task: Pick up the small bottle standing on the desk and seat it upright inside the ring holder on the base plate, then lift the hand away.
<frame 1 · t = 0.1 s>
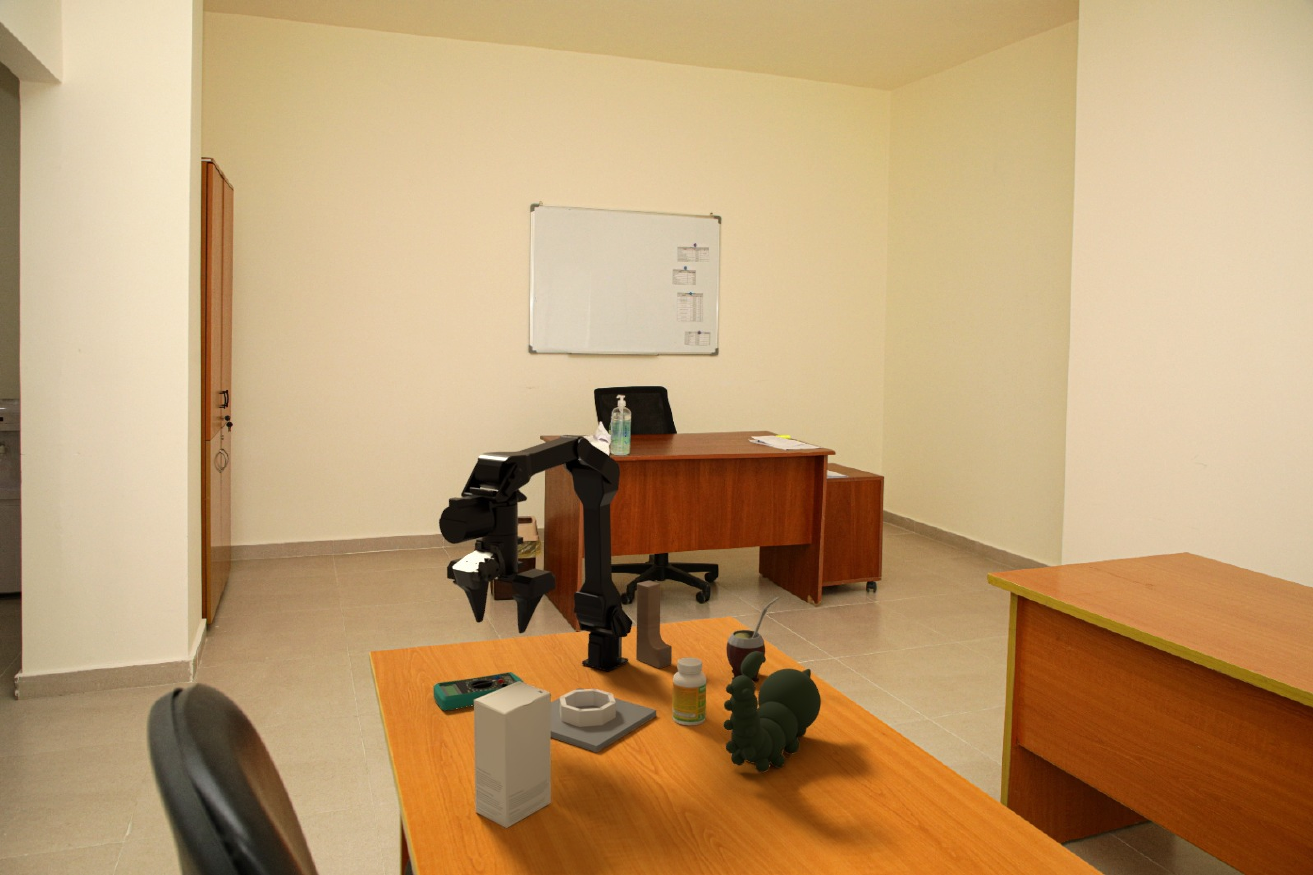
hand: (500, 627, 146), 15 cm above the table, tool pointing down, fingers open, 9 cm apart
wooden block: (653, 663, 172), on the table
skincare box: (513, 810, 119), on the table
digital multimeter: (479, 700, 155), on the table
ring holder: (587, 720, 146), on the table
supplement bottle: (688, 720, 147), on the table
mate gourd: (747, 677, 166), on the table
toy figurine: (773, 754, 136), on the table
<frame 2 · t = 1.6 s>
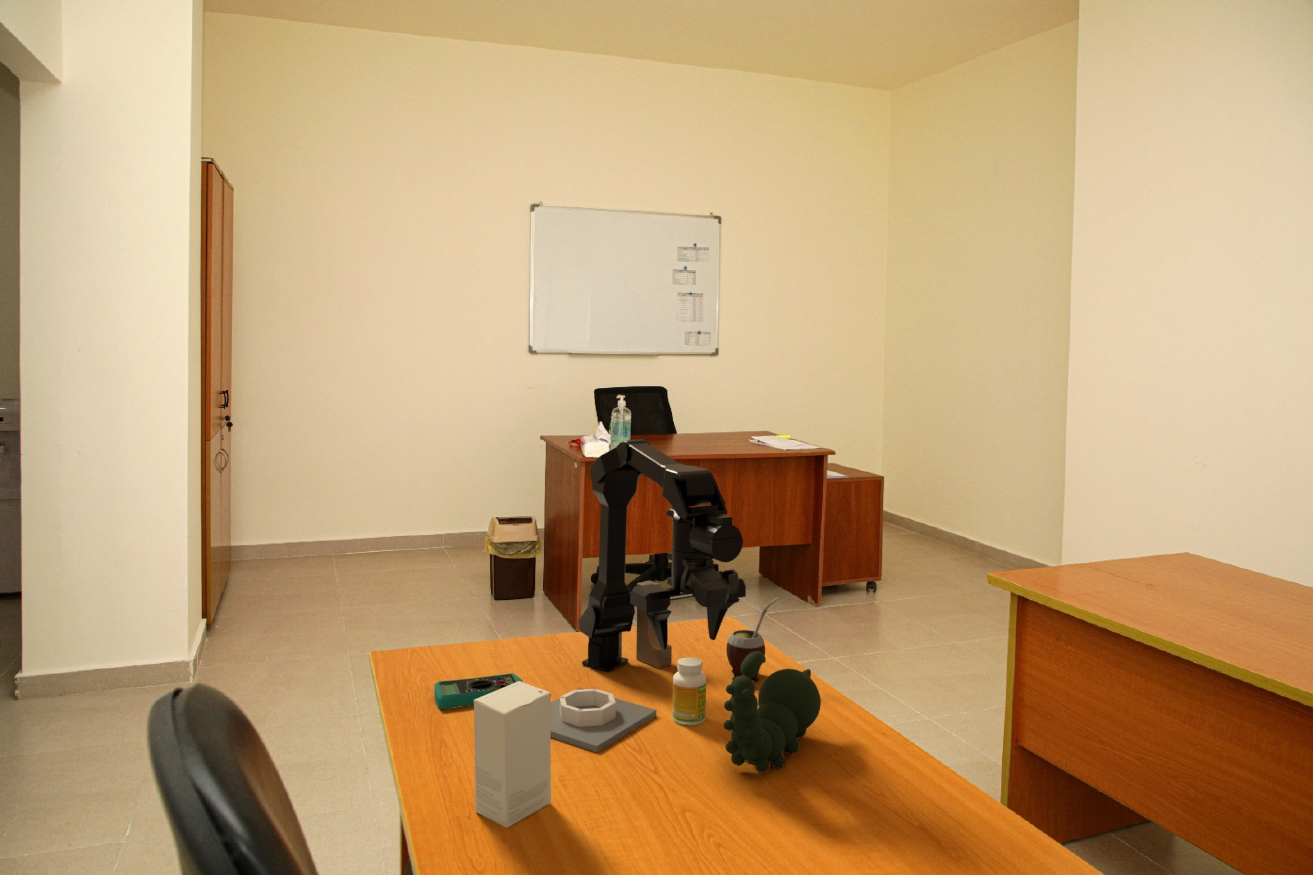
hand: (688, 644, 146), 13 cm above the table, tool pointing down, fingers open, 9 cm apart
nothing on the table moved.
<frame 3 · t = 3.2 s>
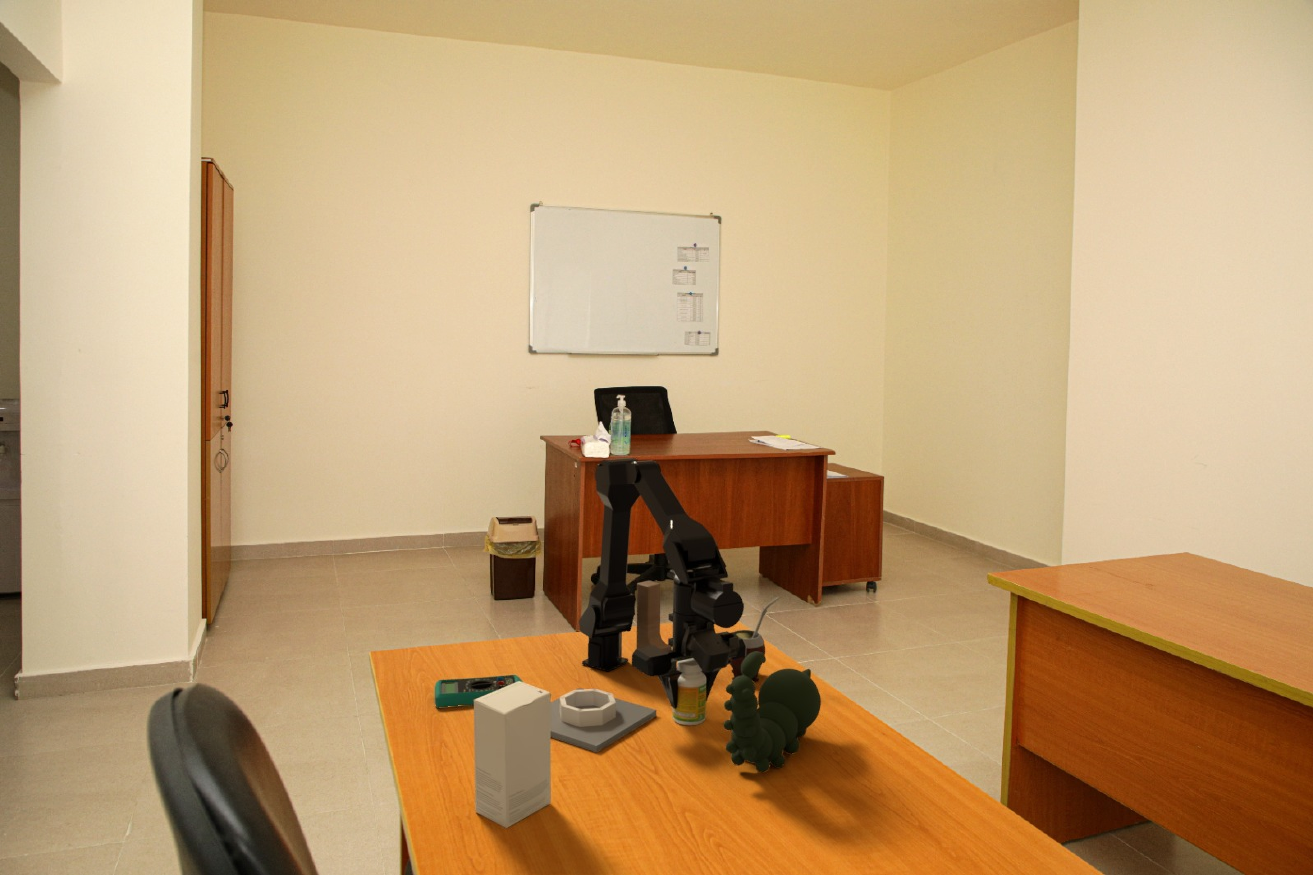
hand: (689, 704, 147), 3 cm above the table, tool pointing down, fingers closed on supplement bottle, 5 cm apart
supplement bottle: (688, 720, 147), on the table, touching gripper
everything else where it was.
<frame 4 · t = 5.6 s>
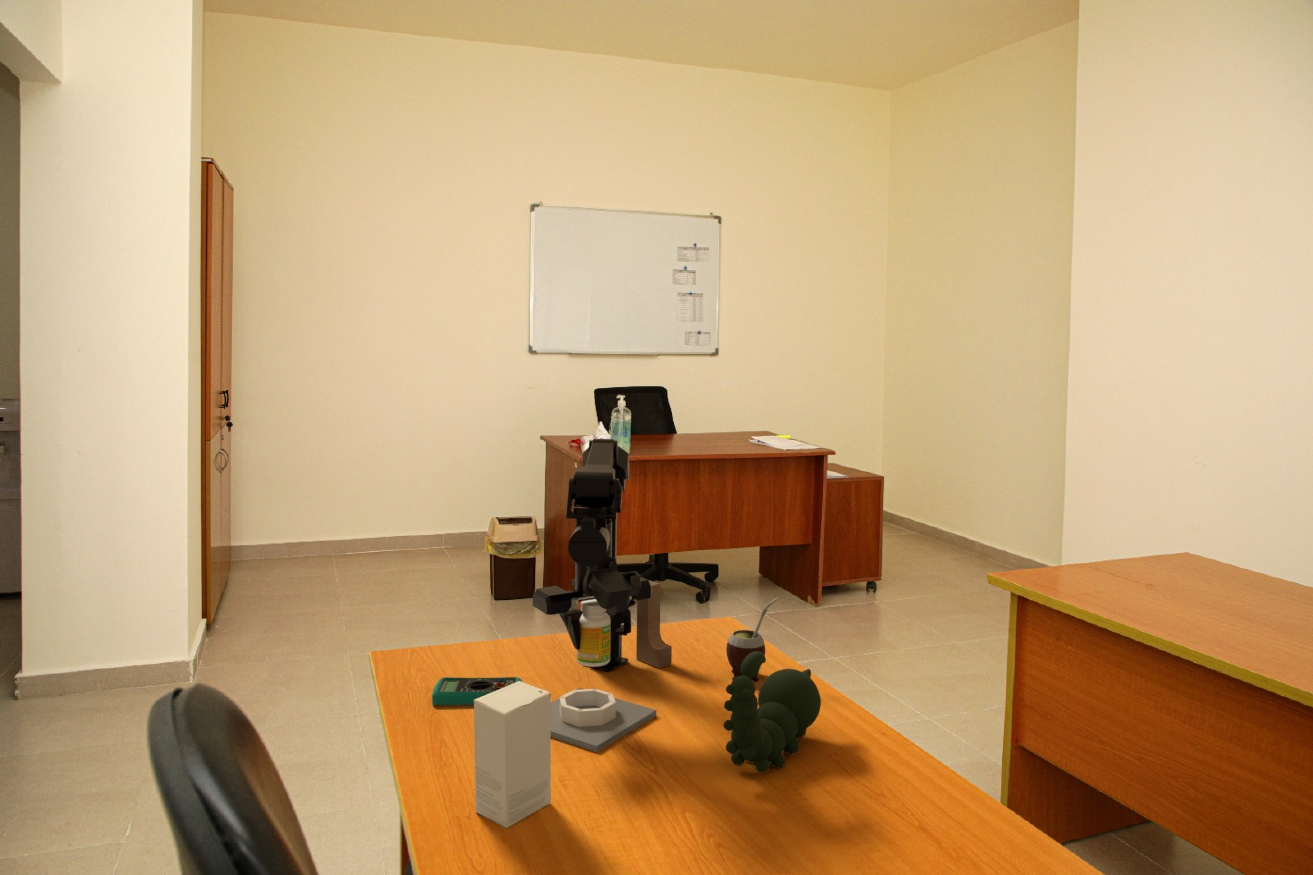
hand: (593, 646, 145), 12 cm above the table, tool pointing down, fingers closed on supplement bottle, 5 cm apart
supplement bottle: (593, 662, 145), point 10 cm above the table, touching gripper
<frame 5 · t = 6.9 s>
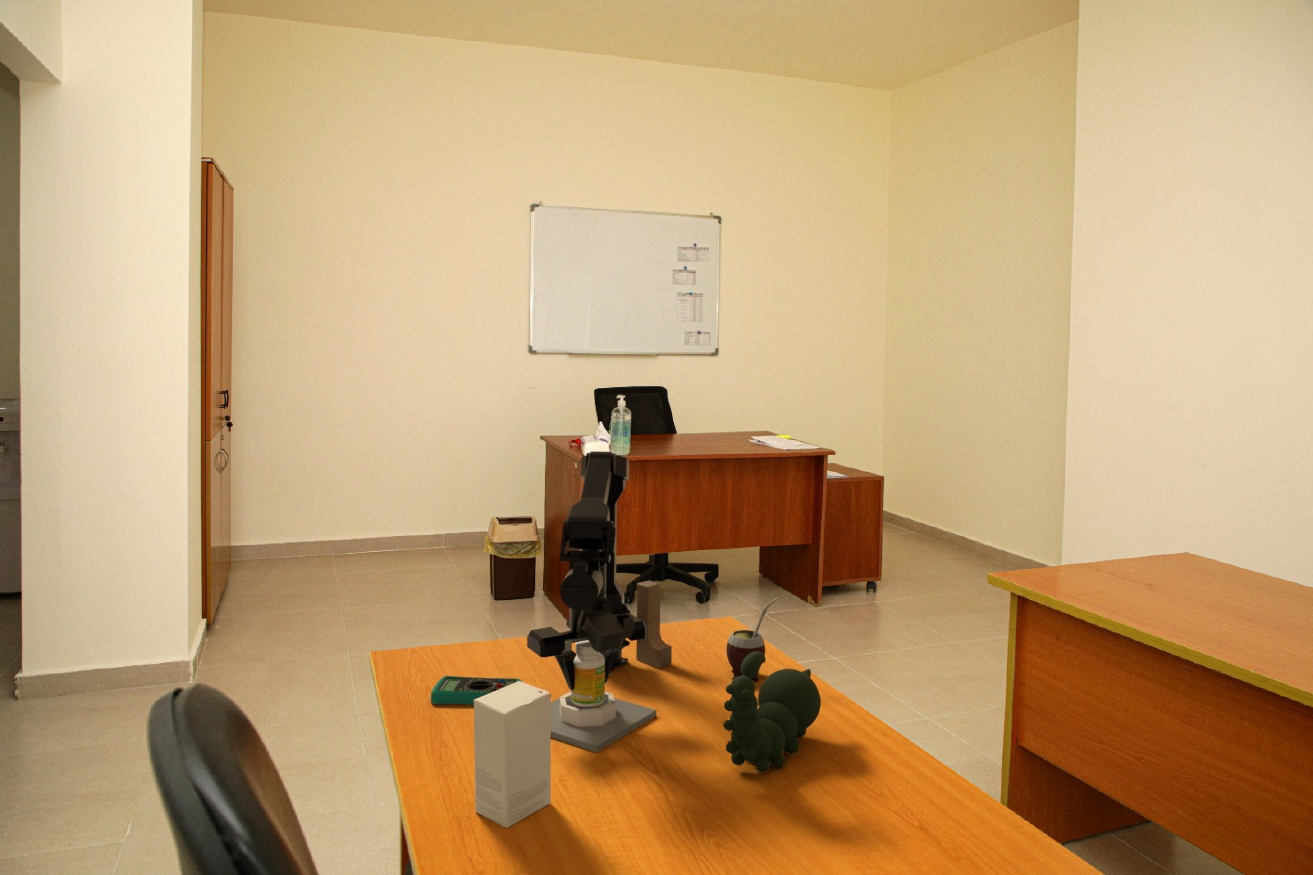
hand: (587, 686, 145), 6 cm above the table, tool pointing down, fingers closed on supplement bottle, 5 cm apart
supplement bottle: (587, 702, 146), point 3 cm above the table, touching gripper
when the fingers open (5 cm above the table, at t = 7.9 s): supplement bottle drops 1 cm, resting on ring holder.
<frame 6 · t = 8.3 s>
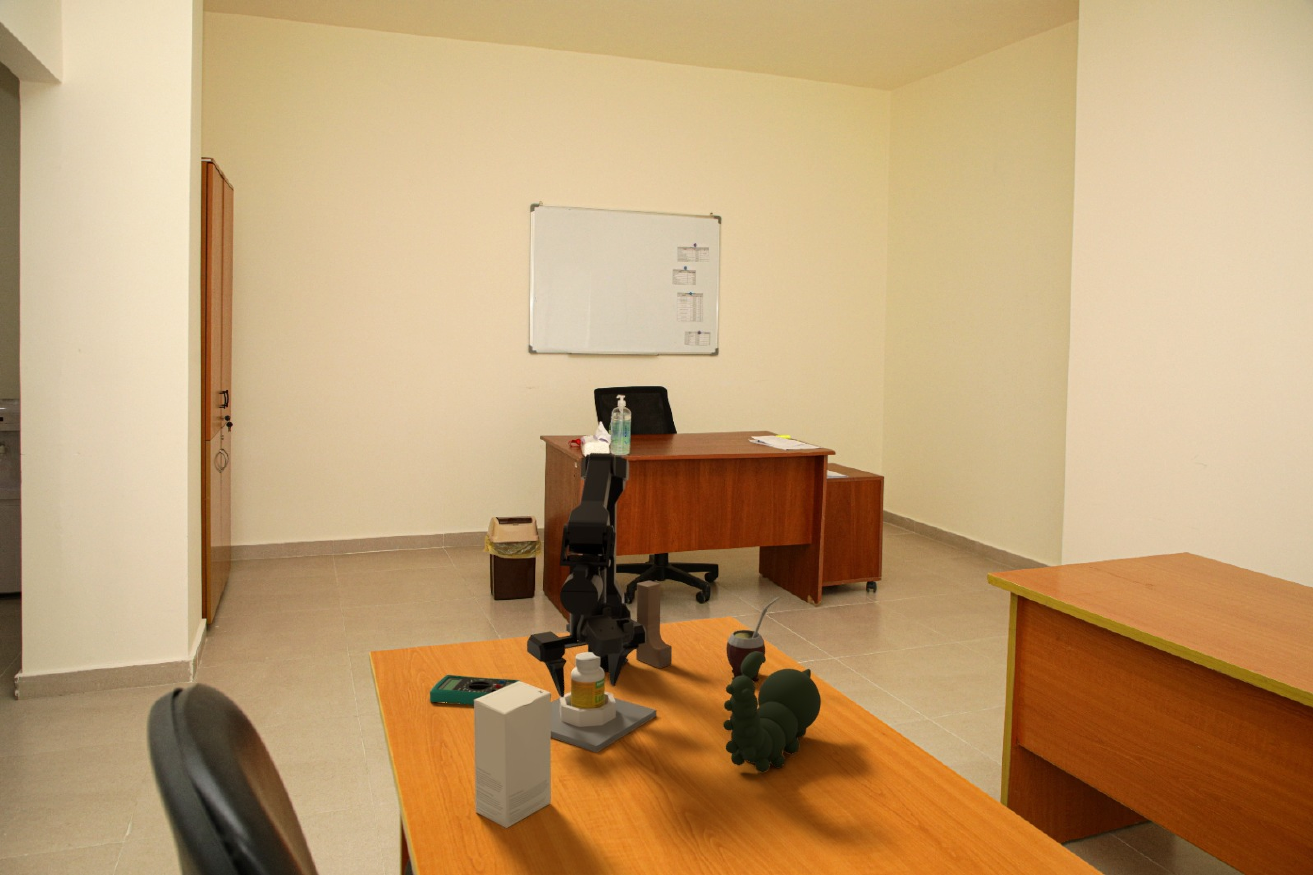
hand: (587, 690, 145), 5 cm above the table, tool pointing down, fingers open, 9 cm apart
supplement bottle: (587, 715, 146), point 1 cm above the table, touching ring holder
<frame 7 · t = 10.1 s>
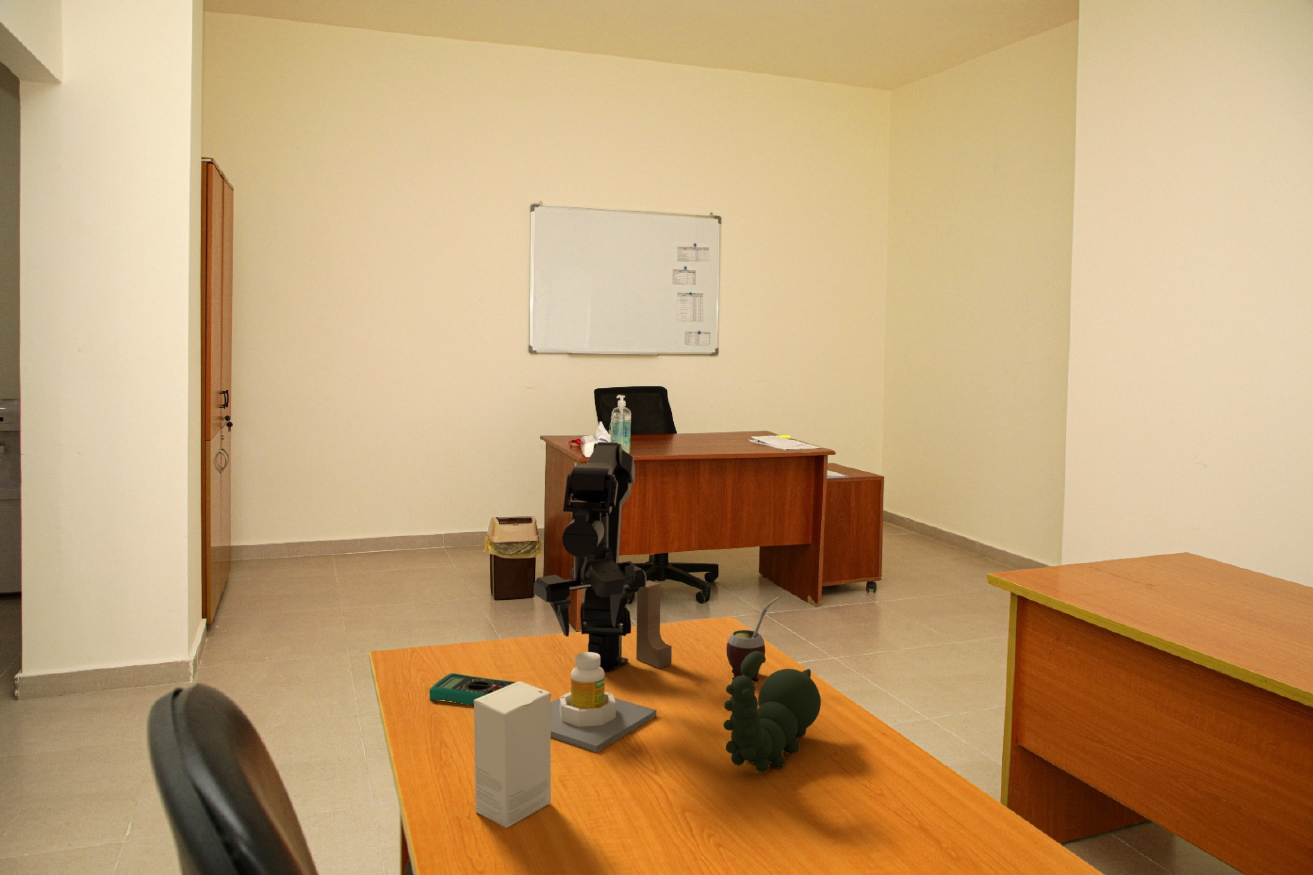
hand: (590, 631, 154), 12 cm above the table, tool pointing down, fingers open, 9 cm apart
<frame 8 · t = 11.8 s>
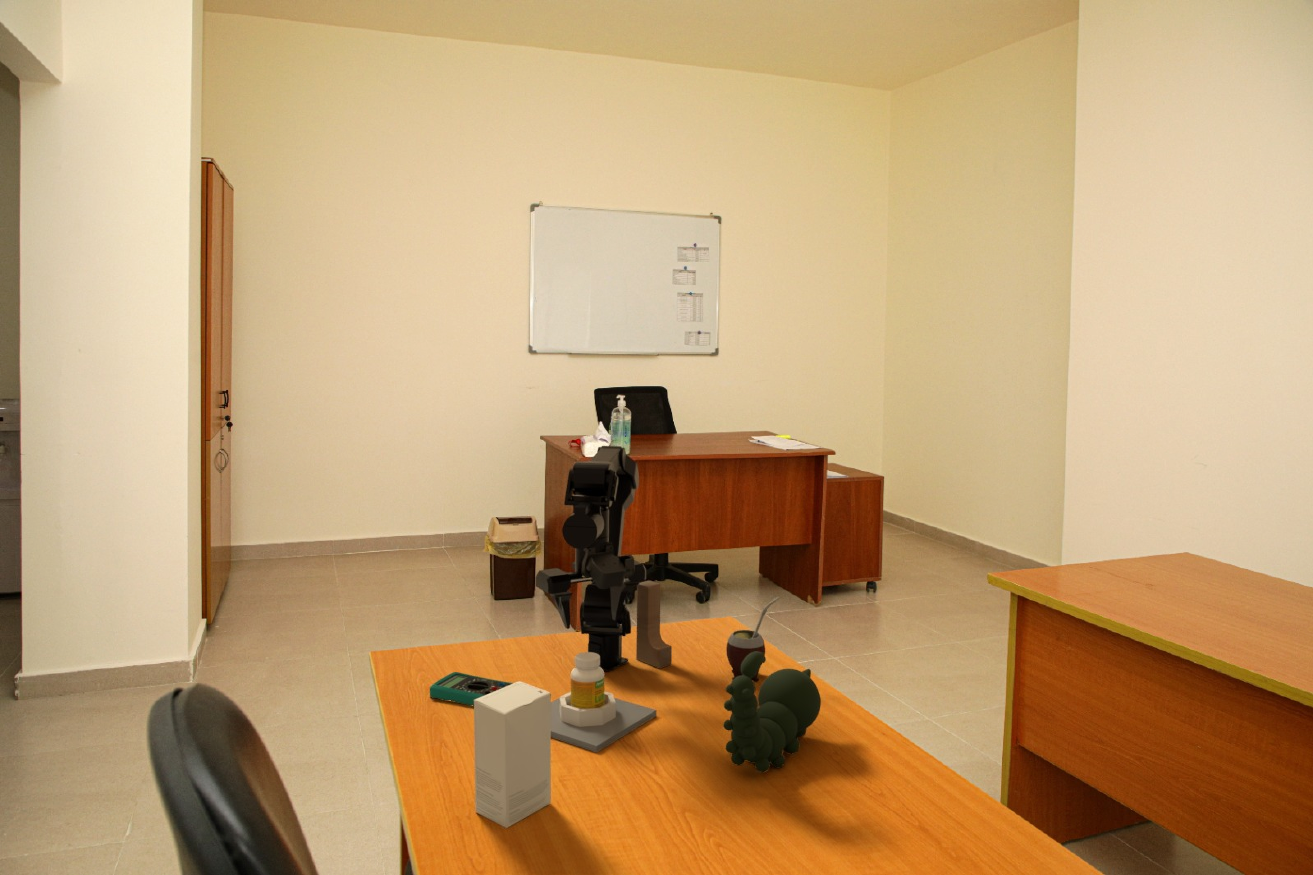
hand: (591, 624, 157), 12 cm above the table, tool pointing down, fingers open, 9 cm apart
at the end: supplement bottle 0.0 cm off-centre on the ring holder, point 0.8 cm above the ring holder's base; supplement bottle tilted 0°; the gripper is holding nothing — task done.
